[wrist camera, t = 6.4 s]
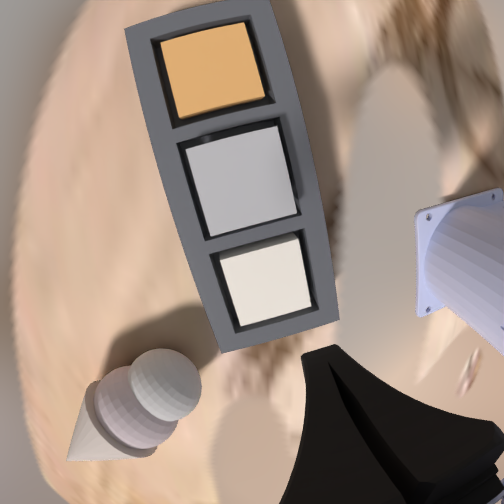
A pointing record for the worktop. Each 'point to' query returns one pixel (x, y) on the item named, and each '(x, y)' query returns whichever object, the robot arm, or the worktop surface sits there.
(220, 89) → the amber key
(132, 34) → the grey compartment tray
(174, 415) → the ice cream cone
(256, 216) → the grey key
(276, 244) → the cream key
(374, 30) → the worktop surface
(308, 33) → the worktop surface
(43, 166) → the worktop surface
